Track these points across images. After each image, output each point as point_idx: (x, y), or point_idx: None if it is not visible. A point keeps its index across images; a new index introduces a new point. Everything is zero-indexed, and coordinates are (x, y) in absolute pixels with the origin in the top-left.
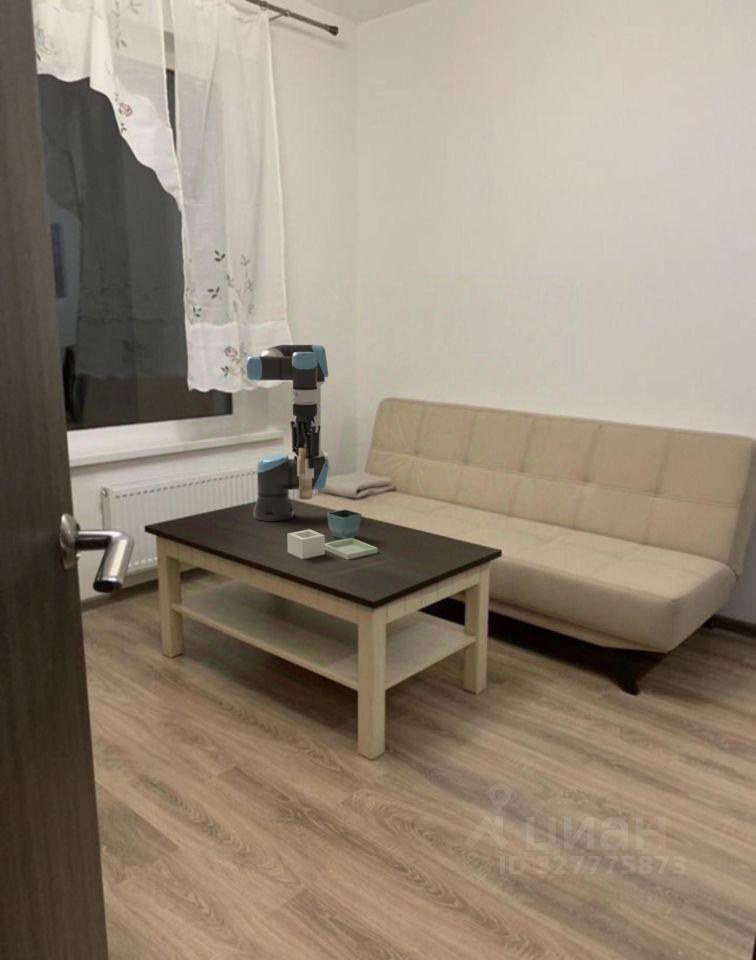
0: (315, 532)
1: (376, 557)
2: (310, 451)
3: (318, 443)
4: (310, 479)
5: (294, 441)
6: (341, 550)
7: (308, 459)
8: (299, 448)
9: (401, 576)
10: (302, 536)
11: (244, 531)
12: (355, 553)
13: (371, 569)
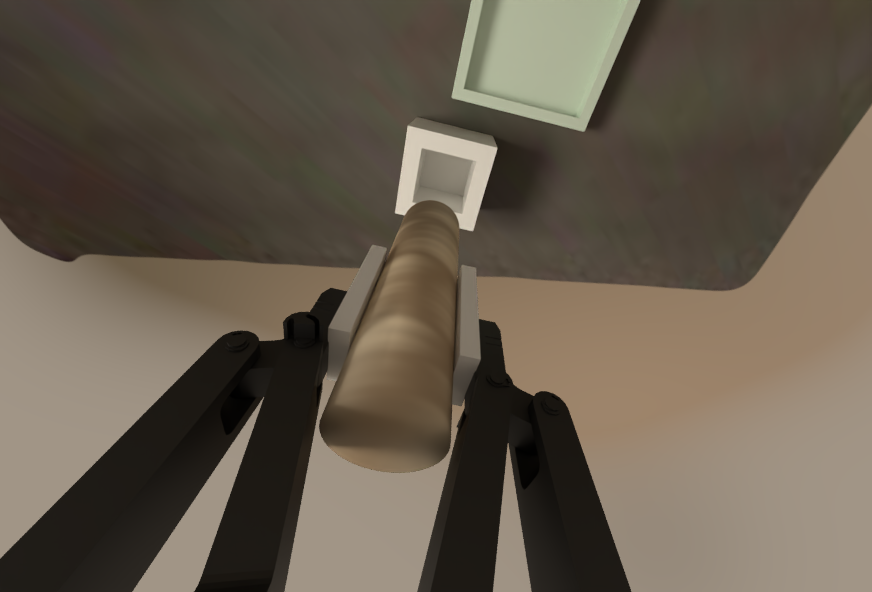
0: (450, 143)
1: (647, 14)
2: (518, 477)
3: (610, 546)
4: (457, 271)
5: (205, 482)
6: (515, 67)
7: (466, 388)
8: (357, 461)
9: (786, 123)
10: (419, 168)
11: (145, 118)
12: (598, 97)
13: (674, 134)
